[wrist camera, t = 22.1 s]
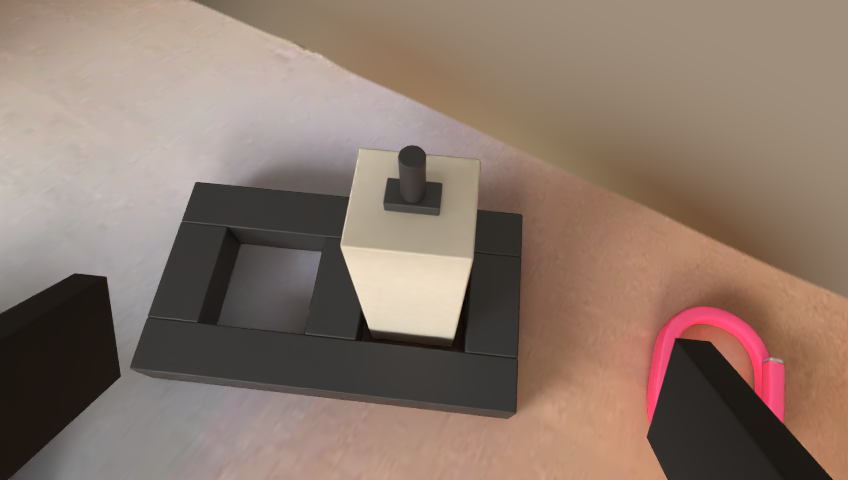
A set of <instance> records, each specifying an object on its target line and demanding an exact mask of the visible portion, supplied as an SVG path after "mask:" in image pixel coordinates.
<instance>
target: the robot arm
mask: <svg viewBox="0 0 848 480" xmlns="http://www.w3.org/2000/svg"><path fill="white" fill-rule="evenodd" d="M120 377H121V374H120V367H119V360H118V353H117V346H116V339H115V332H114V325H113V318H112V311H111V304H110V297H109V291H108V284H107V277H104V276H95V275H85V274H76V273H75V274H73V275H71V276H69V277H67V278H66V279H64V280H62V281H60V282H58V283H56V284H54V285H53V286H51V287H49V288H47V289H45V290H43V291H42V292H40V293H38V294H36V295H34V296H32V297H30V298H29V299H27V300H25V301H23V302H21V303H19V304H18V305H16V306H14V307H12V308H10V309H8V310H6V311H5V312H3V313H1V314H0V480H8V479H10V478H11V477H12V476H13V475H14V474H15V473H16V472H17V471H18V470H19V469H20V468H22V467H23V466H24V465H25V464H26V463H27V462H28V461H29V460H30V459H31V458H32V457H34V456H35V455H36V454H37V453H38V452H39V451H40V450H41V449H42V448H43V447H44V446H46V445H47V444H48V443H49V442H50V441H51V440H52V439H53V438H54V437H55V436H56V435H58V434H59V433H60V432H61V431H62V430H63V429H64V428H65V427H66V426H67V425H68V424H70V423H71V422H72V421H73V420H74V419H75V418H76V417H77V416H78V415H79V414H80V413H82V412H83V411H84V410H85V409H86V408H87V407H88V406H89V405H90V404H91V403H92V402H94V401H95V400H96V399H97V398H98V397H99V396H100V395H101V394H102V393H103V392H104V391H106V390H107V389H108V388H109V387H110V386H111V385H112V384H113V383H114V382H115V381H116V380H118V379H119V378H120ZM647 439H648V441H649V443H650V445H651V447H652V449H653V451H654V453H655V455H656V457H657V459H658V461H659V463H660V465H661V467H662V469H663V471H664V473H665V475H666V477H667V479H668V480H833V479H832V478H831V477H830V476H829V475H828V474H827V473H826V471H825V470H824V469H823V468H822V467H821V466H820V465H819V464H818V462H817V461H816V460H815V459H814V458H813V457H812V456H811V455H810V453H809V452H808V451H807V450H806V449H805V448H804V447H803V446H802V444H801V443H800V442H799V441H798V440H797V439H796V438H795V437H794V435H793V434H792V433H791V432H790V431H789V430H788V429H787V428H786V426H785V425H784V424H783V423H782V422H781V421H780V420H779V418H778V417H777V416H776V415H775V414H774V413H773V412H772V411H771V409H770V408H769V407H768V406H767V405H766V404H765V403H764V402H763V400H762V399H761V398H760V397H759V396H758V395H757V394H756V393H755V391H754V390H753V389H752V388H751V387H750V386H749V385H748V384H747V382H746V381H745V380H744V379H743V378H742V377H741V376H740V375H739V373H738V372H737V371H736V370H735V369H734V368H733V367H732V366H731V364H730V363H729V362H728V361H727V360H726V359H725V358H724V357H723V355H722V354H721V353H720V352H719V351H718V350H717V349H716V348H715V346H714V345H713V344H712V343H711V342H709V341H700V340H691V339H682V338H675V341H674V344H673V348H672V351H671V355H670V358H669V362H668V365H667V369H666V372H665V376H664V379H663V383H662V386H661V389H660V393H659V396H658V400H657V403H656V407H655V410H654V414H653V417H652V421H651V424H650V428H649V431H648V435H647Z"/></svg>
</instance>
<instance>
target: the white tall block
mask: <svg viewBox="0 0 848 480" xmlns="http://www.w3.org/2000/svg"><path fill="white" fill-rule="evenodd" d="M480 166H481V161H480V160H479V159H470V158H460V157H449V156H439V155H429V154H425V152H424V151H423V149H421V148H420V147H418V146H407V147H405V148H403V149H402V150H401V151H400V152H398V151H387V150H377V149H366V148H360V150H359V154H358V159H357V164H356V169H355V174H354V179H353V184H352V189H351V194H350V199H349V204H348V209H347V214H346V219H345V224H344V229H343V234H342V239H341V243H340V247H341V250H342V252H343V255H344V258H345V261H346V264H347V267H348V270H349V273H350V275H351V278H352V281H353V284H354V287H355V290H356V293H357V295H358V298H359V301H360V304H361V307H362V310H363V313H364V315H365V318H366V321H367V324H368V327H369V330H370V333H371V336H372V338H377V339H386V340H395V341H404V342H412V343H421V344H430V345H439V346H448V347H452V345H453V341H454V337H455V333H456V329H457V325H458V321H459V317H460V313H461V308H462V304H463V300H464V296H465V292H466V288H467V284H468V280H469V275H470V271H471V267H472V263H473V259H474V245H475V232H476V219H477V206H478V193H479V179H480Z"/></svg>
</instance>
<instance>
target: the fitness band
mask: <svg viewBox="0 0 848 480" xmlns="http://www.w3.org/2000/svg"><path fill="white" fill-rule="evenodd" d="M695 324H709V325H713V326H716V327H719V328H721V329H724V330H726V331H728V332H729V333H731V334H732V335H734V336H735V337H736V338H737V339H739V341H740V342H741V343H742V344H743V345H744V347H745V348H746V350H747V352H748V353H749V356H750V359H751V361H752V365H753V370H754V377H755V393H756V394H757V395H758V396H759V397H760V398H761V399H762V400H763V402H764V403H765V404H766V405H767V406H768V407H769V408H770V409H771V411H772V412H773V413H774V414H775V415H776V416H777V417H778V418H779V420H780V421H781V422H782V423H783V424H784V412H785V364H784V361H783V360H781V359H778V358H771V357H770V354H769V352H768V350H767V348H766V346H765V344H764V343H763V341H762V339H761V338H760V336H759V335H758V334H757V332H756V331H755V330H754V329H753V328H752V327H751V326H750V325H749V324H747V323H746V322H745V321H744V320H742V319H740V318H739V317H737V316H736V315H734V314H732V313H730V312H728V311H725V310H723V309H719V308H716V307H710V306H696V307H692V308H689V309H686V310H683V311H682V312H680V313H678V314H676V315H675V316H674V317H672V318H671V319H670V320H669V321H668V322H667V323H666V324H665V325H664V326H663V328H662V329H661V331H660V332H659V334H658V337H657V339H656V343H655V347H654V352H653V357H652V362H651V369H650V375H649V383H648V392H647V410H648V416H649V421H650V424H651V421H652V417H653V414H654V410H655V407H656V403H657V400H658V396H659V393H660V389H661V386H662V383H663V379H664V376H665V372H666V369H667V365H668V362H669V358H670V355H671V351H672V348H673V344H674V341H675V338H680V336H681V334H682V333H683V332H684V330H685V329H687V328H688V327H689V326H691V325H695Z"/></svg>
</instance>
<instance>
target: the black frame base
mask: <svg viewBox="0 0 848 480" xmlns="http://www.w3.org/2000/svg"><path fill="white" fill-rule="evenodd" d="M349 199H350V197H343V196H332V195H322V194H312V193H302V192H292V191H282V190H272V189H262V188H252V187H242V186H232V185H222V184H212V183H201V182H196V183H195V185H194V188H193V191H192V194H191V197H190V199H189V202H188V205H187V208H186V211H185V214H184V216H183V219H182V222H181V224H180V227H179V230H178V233H177V236H176V238H175V241H174V244H173V247H172V250H171V252H170V255H169V258H168V261H167V264H166V266H165V269H164V272H163V275H162V278H161V280H160V283H159V286H158V289H157V292H156V294H155V297H154V300H153V303H152V306H151V309H150V311H149V314H148V317H149V318H147V320H146V323H145V326H144V329H143V331H142V334H141V337H140V340H139V343H138V345H137V348H136V351H135V354H134V357H133V359H132V362H131V365H130V369H131V370H134V371H136V372H139V373H142V374H145V375H147V376H150V377H154V378H162V379H171V380H179V381H188V382H197V383H205V384H214V385H222V386H231V387H239V388H248V389H257V390H265V391H274V392H282V393H291V394H299V395H308V396H317V397H325V398H334V399H342V400H351V401H359V402H368V403H376V404H385V405H394V406H402V407H411V408H419V409H428V410H436V411H445V412H454V413H462V414H471V415H479V416H488V417H496V418H505V419H508V418H510V417H512V416H513V415H515V414H516V410H517V377H518V359H517V358H518V344H519V311H520V279H521V247H522V214H514V213H504V212H494V211H484V210H477V219H476V232H475V245H474V259H473V263H472V267H471V271H470V275H469V280H468V288H467V301H466V314H465V327H464V340H463V352H455V351H446V350H437V349H428V348H419V347H410V346H401V345H392V344H383V343H375V342H366V341H362V338H363V332H364V326H365V320H366V318H365V315H364V313H363V310H362V307H361V304H360V301H359V298H358V295H357V293H356V290H355V287H354V284H353V281H352V278H351V275H350V273H349V270H348V267H347V264H346V261H345V258H344V255H343V252H342V250H341V247H340V243H341V239H342V234H343V229H344V224H345V219H346V214H347V209H348V204H349ZM240 243H242V244H252V245H261V246H271V247H280V248H290V249H300V250H309V251H319V252H322V255H321V259H320V264H319V268H318V273H317V278H316V282H315V287H314V292H313V296H312V301H311V305H310V310H309V315H308V319H307V324H306V329H305V335H303V334H294V333H285V332H276V331H267V330H258V329H249V328H240V327H231V326H222V325H217V322H218V318H219V315H220V311H221V308H222V305H223V301H224V298H225V294H226V291H227V288H228V284H229V281H230V277H231V274H232V271H233V267H234V264H235V260H236V257H237V254H238V250H239V247H240Z"/></svg>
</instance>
